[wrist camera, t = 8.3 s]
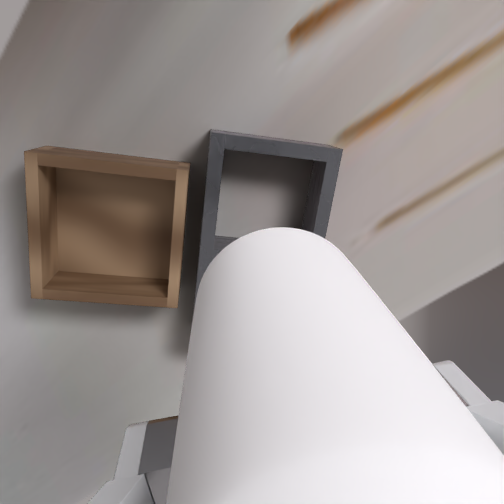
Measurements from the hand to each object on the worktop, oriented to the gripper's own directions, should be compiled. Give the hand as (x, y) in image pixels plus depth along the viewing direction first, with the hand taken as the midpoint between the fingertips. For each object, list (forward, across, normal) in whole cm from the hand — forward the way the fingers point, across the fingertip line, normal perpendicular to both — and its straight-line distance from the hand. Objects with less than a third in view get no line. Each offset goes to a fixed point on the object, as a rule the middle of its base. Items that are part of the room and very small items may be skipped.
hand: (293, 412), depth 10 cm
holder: (+24, +9, 0) cm, 26 cm away
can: (+6, -1, 0) cm, 7 cm away
